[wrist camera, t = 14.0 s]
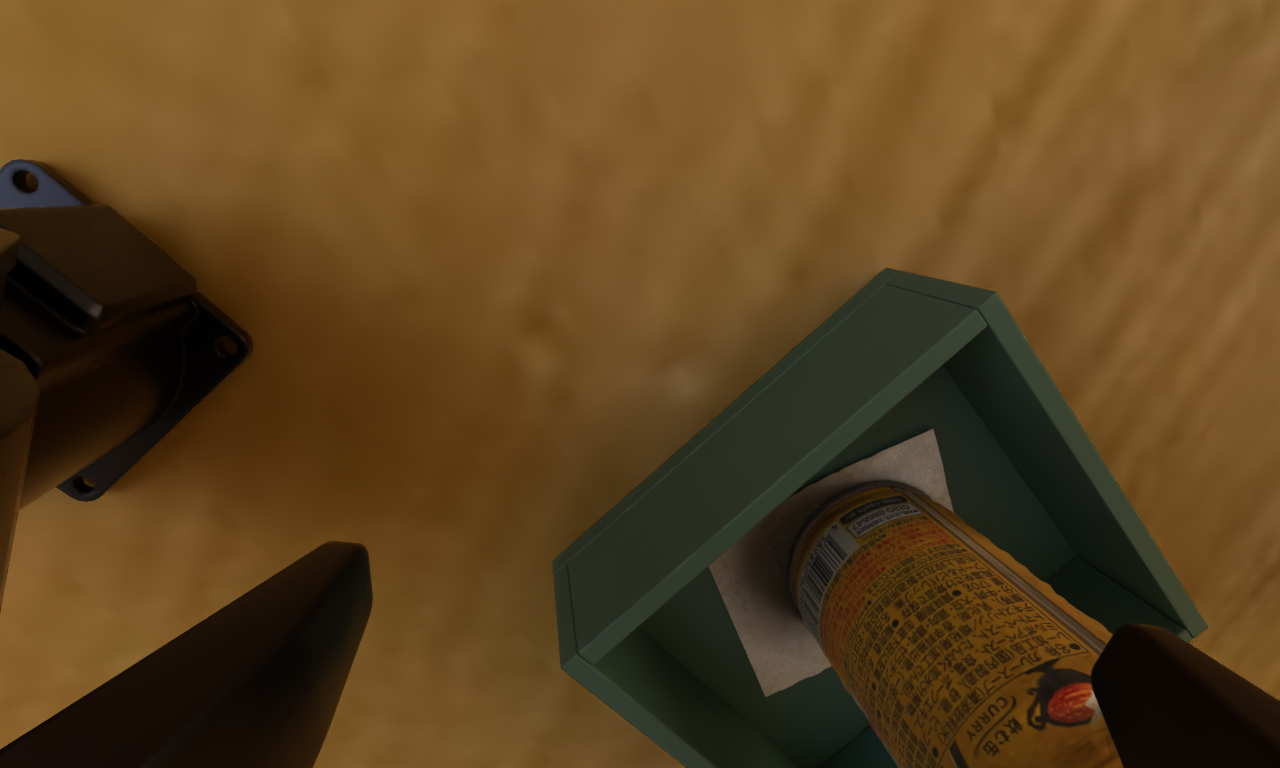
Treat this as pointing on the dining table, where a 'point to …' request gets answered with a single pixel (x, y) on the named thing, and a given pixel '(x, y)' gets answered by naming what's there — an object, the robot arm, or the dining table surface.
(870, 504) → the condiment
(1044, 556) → the square tray
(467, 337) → the dining table surface
